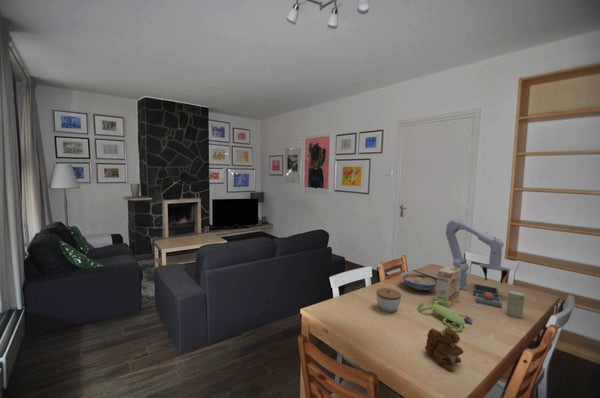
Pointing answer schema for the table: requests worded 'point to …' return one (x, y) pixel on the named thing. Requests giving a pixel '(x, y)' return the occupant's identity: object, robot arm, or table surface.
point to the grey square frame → (485, 289)
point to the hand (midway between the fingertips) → (493, 281)
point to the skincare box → (515, 304)
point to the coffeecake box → (449, 285)
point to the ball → (488, 296)
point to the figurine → (447, 313)
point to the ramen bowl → (419, 280)
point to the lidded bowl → (388, 299)
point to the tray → (495, 302)
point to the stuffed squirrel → (444, 347)
